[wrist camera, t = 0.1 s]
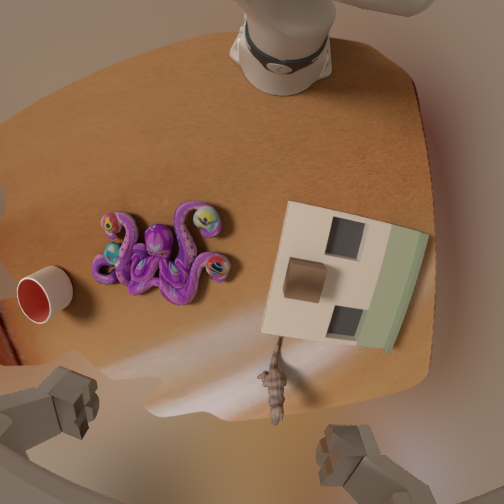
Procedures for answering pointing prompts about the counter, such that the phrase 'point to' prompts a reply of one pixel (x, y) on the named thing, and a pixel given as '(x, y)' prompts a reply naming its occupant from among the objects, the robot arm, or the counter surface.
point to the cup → (44, 294)
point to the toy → (275, 387)
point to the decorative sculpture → (161, 254)
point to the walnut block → (304, 280)
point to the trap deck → (345, 277)
